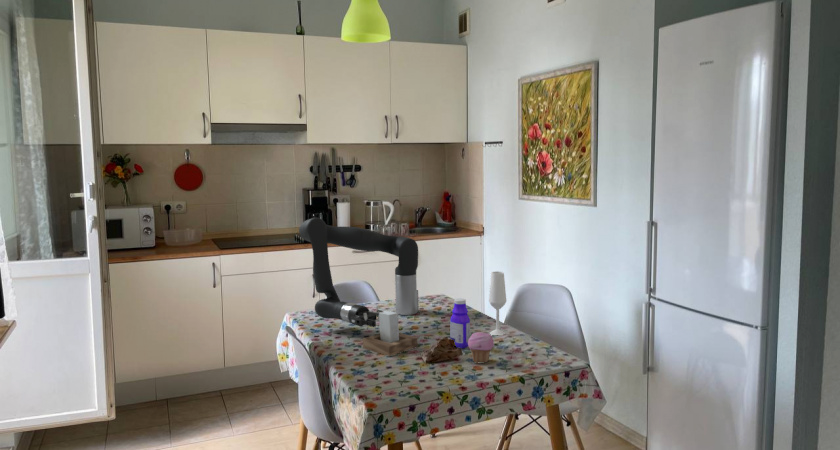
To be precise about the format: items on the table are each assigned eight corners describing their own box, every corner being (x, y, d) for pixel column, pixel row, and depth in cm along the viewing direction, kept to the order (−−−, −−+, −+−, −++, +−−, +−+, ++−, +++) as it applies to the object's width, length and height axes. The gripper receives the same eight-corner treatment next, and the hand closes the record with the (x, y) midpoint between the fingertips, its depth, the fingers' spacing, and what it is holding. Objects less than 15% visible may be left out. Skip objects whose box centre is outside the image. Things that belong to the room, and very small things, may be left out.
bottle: (473, 346, 232) (472, 299, 230) (463, 350, 228) (462, 302, 226) (457, 342, 237) (457, 296, 235) (447, 345, 233) (447, 299, 231)
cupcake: (467, 357, 220) (467, 329, 219) (492, 357, 220) (492, 328, 219) (468, 366, 211) (468, 336, 210) (494, 366, 211) (494, 336, 210)
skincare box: (399, 345, 231) (399, 312, 230) (390, 348, 228) (389, 315, 227) (388, 341, 236) (388, 309, 234) (379, 344, 233) (378, 312, 231)
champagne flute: (486, 335, 245) (486, 273, 242) (492, 330, 251) (492, 270, 248) (502, 337, 242) (502, 275, 239) (508, 332, 248) (508, 271, 245)
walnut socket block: (391, 339, 242) (390, 330, 242) (417, 346, 232) (417, 337, 232) (362, 348, 232) (362, 338, 232) (389, 356, 222) (389, 346, 222)
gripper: (340, 308, 239) (369, 315, 228) (368, 300, 249) (397, 307, 238) (340, 327, 240) (369, 336, 229) (369, 319, 250) (398, 327, 239)
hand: (383, 321), depth 233 cm, fingers open, 8 cm apart
